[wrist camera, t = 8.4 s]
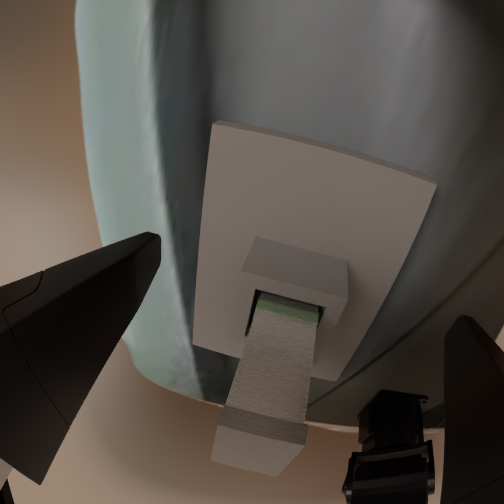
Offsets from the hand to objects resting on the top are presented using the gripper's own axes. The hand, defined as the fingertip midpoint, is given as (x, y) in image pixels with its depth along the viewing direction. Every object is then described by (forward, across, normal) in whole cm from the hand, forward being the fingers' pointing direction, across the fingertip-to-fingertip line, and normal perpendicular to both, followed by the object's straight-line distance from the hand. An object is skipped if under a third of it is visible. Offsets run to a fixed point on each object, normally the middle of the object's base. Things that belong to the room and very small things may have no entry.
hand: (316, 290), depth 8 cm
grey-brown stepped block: (+8, 0, +9) cm, 12 cm away
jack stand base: (+13, 0, +9) cm, 16 cm away
